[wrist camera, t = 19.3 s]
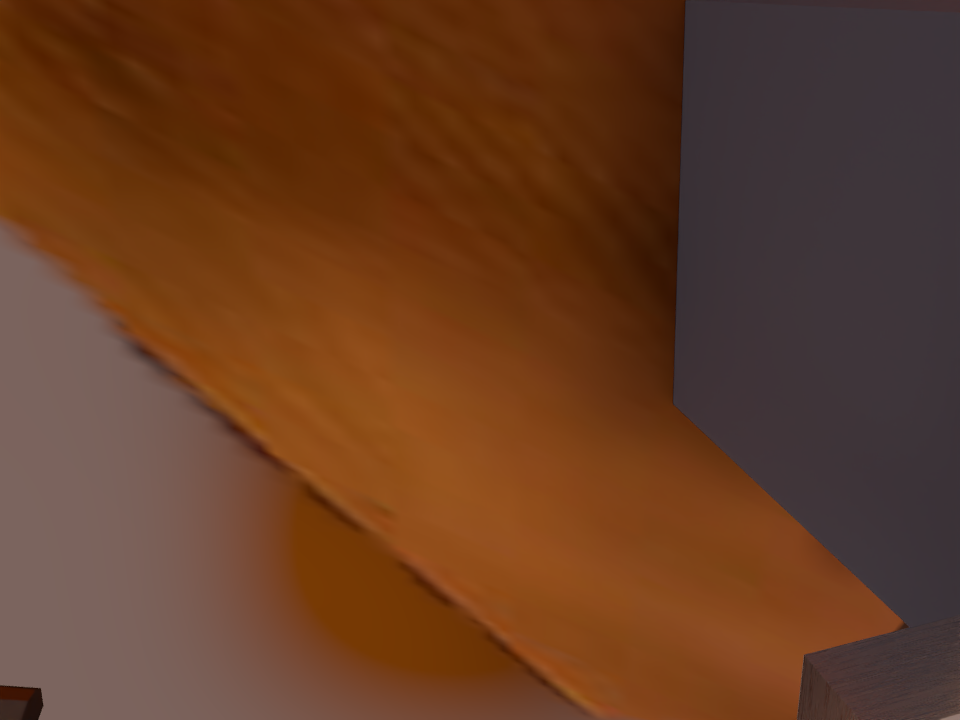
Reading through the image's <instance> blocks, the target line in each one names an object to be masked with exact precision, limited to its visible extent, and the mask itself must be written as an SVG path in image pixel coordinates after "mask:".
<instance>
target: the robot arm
mask: <svg viewBox="0 0 960 720" xmlns="http://www.w3.org/2000/svg"><path fill="white" fill-rule="evenodd" d="M42 708H43V699H42V692H41V688H33V687H19V686H18V687H17V686H5V685H0V720H38V719H39V716H40V714H41V711H42Z"/></svg>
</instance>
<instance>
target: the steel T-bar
mask: <svg viewBox="0 0 960 720" xmlns="http://www.w3.org/2000/svg"><path fill="white" fill-rule="evenodd" d="M797 720H960V615H957V616H953V617H949V618H945V619H941V620H937V621H933V622H929V623H926V624H922V625H918V626H914V627H910V628H906V629H903V630H899V631H895V632H891V633H887V634H883V635H879V636H875V637H871V638H868V639H864V640H860V641H856V642H852V643H848V644H844V645H840V646H837V647H833V648H829V649H825V650H821V651H817V652H813V653H810V654H806V655H804V660H803V669H802V678H801V687H800V696H799V705H798V714H797Z"/></svg>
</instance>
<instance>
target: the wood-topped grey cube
mask: <svg viewBox="0 0 960 720" xmlns="http://www.w3.org/2000/svg"><path fill="white" fill-rule="evenodd" d="M673 404H674V405H675V406H676V407H677V408H678V409H679V410H680V411H681V412H682V413H683V414H684V415H685V416H686V417H687V418H689V419H690V420H691V421H692V422H693V423H694V424H695V425H696V426H697V427H698V428H699V429H700V430H701V431H702V432H703V433H704V434H706V435H707V436H708V437H709V438H710V439H711V440H712V441H713V442H714V443H715V444H716V445H717V446H718V447H719V448H720V449H721V450H723V451H724V452H725V453H726V454H727V455H728V456H729V457H730V458H731V459H732V460H733V461H734V462H735V463H736V464H737V465H738V466H739V467H741V468H742V469H743V470H744V471H745V472H746V473H747V474H748V475H749V476H750V477H751V478H752V479H753V480H754V481H755V482H756V483H758V484H759V485H760V486H761V487H762V488H763V489H764V490H765V491H766V492H767V493H768V494H769V495H770V496H771V497H772V498H773V499H774V500H776V501H777V502H778V503H779V504H780V505H781V506H782V507H783V508H784V509H785V510H786V511H787V512H788V513H789V514H790V515H791V516H793V517H794V518H795V519H796V520H797V521H798V522H799V523H800V524H801V525H802V526H803V527H804V528H805V529H806V530H807V531H808V532H810V533H811V534H812V535H813V536H814V537H815V538H816V539H817V540H818V541H819V542H820V543H821V544H822V545H823V546H824V547H825V548H826V549H828V550H829V551H830V552H831V553H832V554H833V555H834V556H835V557H836V558H837V559H838V560H839V561H840V562H841V563H842V564H843V565H845V566H846V567H847V568H848V569H849V570H850V571H851V572H852V573H853V574H854V575H855V576H856V577H857V578H858V579H859V580H860V581H862V582H863V583H864V584H865V585H866V586H867V587H868V588H869V589H870V590H871V591H872V592H873V593H874V594H875V595H876V596H877V597H878V598H880V599H881V600H882V601H883V602H884V603H885V604H886V605H887V606H888V607H889V608H890V609H891V610H892V611H893V612H894V613H895V614H897V615H898V616H899V617H900V618H901V619H902V620H903V621H904V622H905V623H906V624H907V625H908V626H909V627H914V626H918V625H922V624H926V623H929V622H933V621H937V620H941V619H945V618H949V617H953V616H957V615H960V0H687V1H686V4H685V36H684V68H683V101H682V133H681V165H680V197H679V230H678V262H677V294H676V327H675V359H674V391H673Z"/></svg>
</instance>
